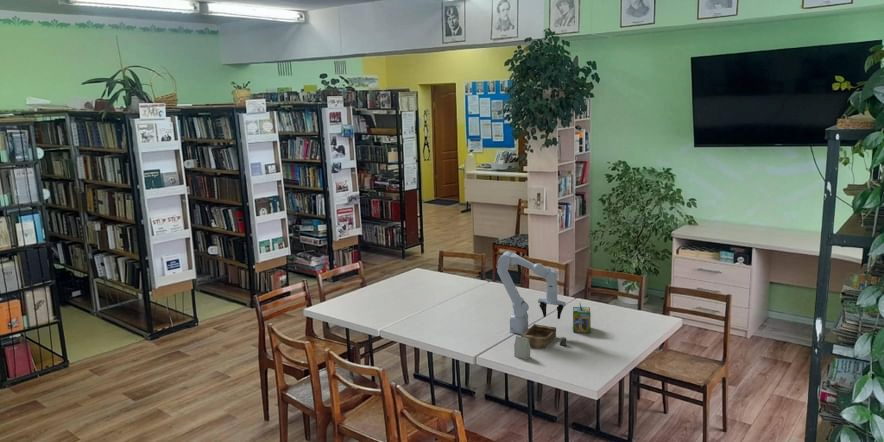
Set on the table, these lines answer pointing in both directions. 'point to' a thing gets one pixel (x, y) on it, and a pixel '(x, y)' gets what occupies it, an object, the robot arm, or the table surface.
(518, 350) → the grey upright block
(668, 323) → the table surface
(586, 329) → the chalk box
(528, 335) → the box
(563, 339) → the lid
